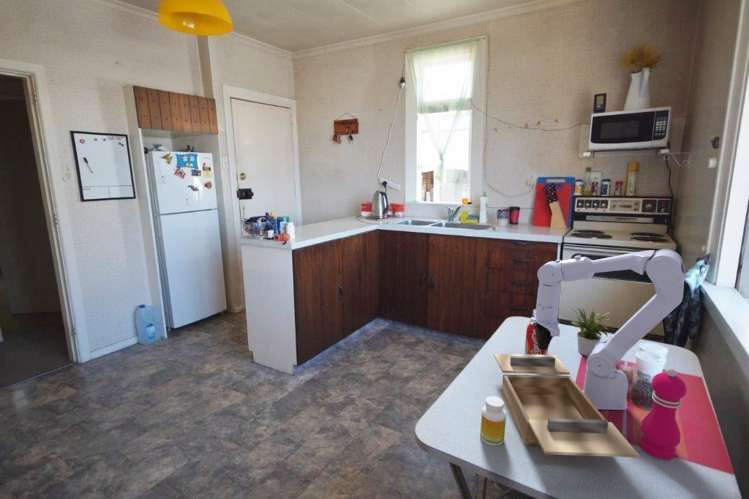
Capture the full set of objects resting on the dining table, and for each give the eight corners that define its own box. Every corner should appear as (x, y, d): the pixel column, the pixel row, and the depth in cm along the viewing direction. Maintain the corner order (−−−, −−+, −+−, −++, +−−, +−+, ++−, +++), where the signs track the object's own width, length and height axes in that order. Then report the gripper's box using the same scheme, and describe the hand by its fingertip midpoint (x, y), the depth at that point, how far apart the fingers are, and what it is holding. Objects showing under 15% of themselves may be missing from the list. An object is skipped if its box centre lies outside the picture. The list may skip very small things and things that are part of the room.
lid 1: (555, 356, 116) (556, 347, 115) (569, 374, 106) (570, 364, 106) (493, 355, 117) (494, 345, 116) (502, 372, 107) (503, 362, 106)
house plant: (556, 355, 130) (561, 309, 126) (561, 339, 141) (566, 296, 138) (606, 366, 123) (613, 318, 119) (607, 349, 134) (613, 304, 130)
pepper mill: (678, 466, 82) (696, 381, 78) (637, 453, 86) (652, 371, 82) (675, 446, 88) (691, 366, 84) (636, 434, 92) (650, 357, 88)
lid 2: (611, 424, 86) (612, 412, 85) (638, 457, 77) (640, 443, 76) (528, 421, 87) (529, 409, 86) (544, 454, 77) (546, 440, 77)
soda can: (523, 359, 127) (527, 325, 124) (524, 350, 133) (527, 317, 131) (547, 363, 124) (551, 328, 122) (546, 354, 131) (550, 320, 128)
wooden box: (567, 395, 107) (570, 376, 106) (606, 447, 88) (609, 424, 87) (501, 394, 108) (503, 374, 107) (525, 445, 89) (527, 422, 87)
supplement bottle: (505, 448, 88) (508, 409, 86) (480, 444, 89) (483, 406, 87) (502, 432, 93) (505, 395, 91) (479, 429, 94) (481, 393, 92)
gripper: (524, 295, 116) (520, 337, 119) (542, 313, 102) (537, 360, 105) (548, 295, 116) (543, 337, 119) (570, 314, 102) (564, 361, 105)
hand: (542, 348), depth 112 cm, fingers closed
